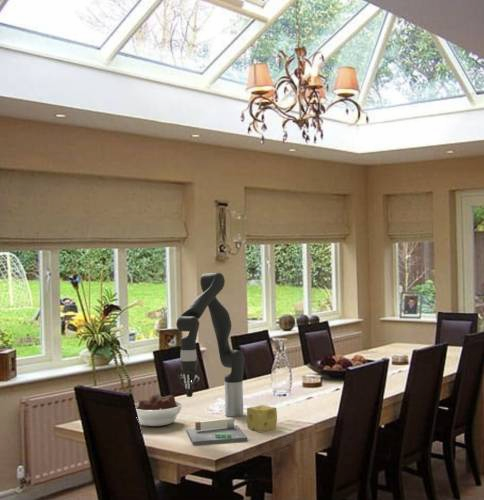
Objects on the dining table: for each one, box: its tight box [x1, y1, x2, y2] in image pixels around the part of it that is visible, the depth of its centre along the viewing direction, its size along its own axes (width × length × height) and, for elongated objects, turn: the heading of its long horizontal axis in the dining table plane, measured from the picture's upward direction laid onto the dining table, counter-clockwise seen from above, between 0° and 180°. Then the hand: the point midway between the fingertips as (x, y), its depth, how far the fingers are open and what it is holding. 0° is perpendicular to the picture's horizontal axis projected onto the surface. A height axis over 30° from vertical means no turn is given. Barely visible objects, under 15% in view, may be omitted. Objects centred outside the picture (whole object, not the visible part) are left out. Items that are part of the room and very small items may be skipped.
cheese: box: [246, 404, 278, 433], centre depth 337 cm, size 10×11×10 cm
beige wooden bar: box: [194, 417, 235, 431], centre depth 331 cm, size 18×4×4 cm, turn 111°
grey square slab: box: [185, 424, 249, 446], centre depth 324 cm, size 24×24×3 cm
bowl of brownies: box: [134, 393, 183, 427], centre depth 351 cm, size 25×25×15 cm
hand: (189, 396), depth 333 cm, fingers closed
